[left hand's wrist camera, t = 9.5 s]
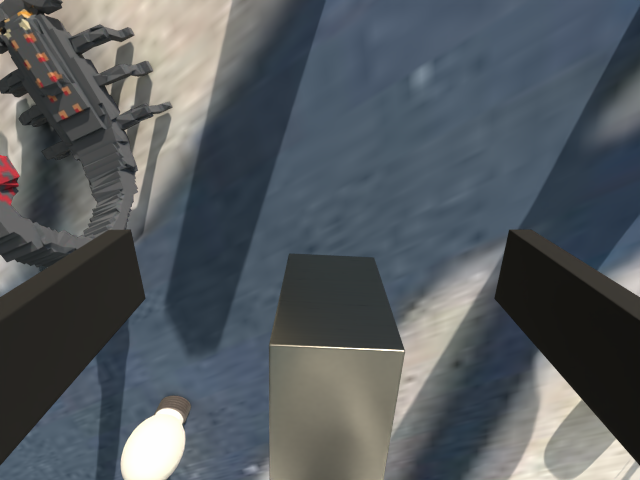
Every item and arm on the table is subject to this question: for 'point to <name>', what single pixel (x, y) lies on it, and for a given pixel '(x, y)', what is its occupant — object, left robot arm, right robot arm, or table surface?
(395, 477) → the table surface
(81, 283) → the left robot arm
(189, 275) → the table surface
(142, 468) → the light bulb
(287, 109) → the table surface
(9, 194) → the toy
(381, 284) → the box
